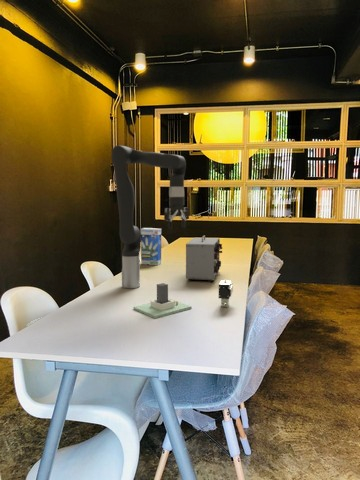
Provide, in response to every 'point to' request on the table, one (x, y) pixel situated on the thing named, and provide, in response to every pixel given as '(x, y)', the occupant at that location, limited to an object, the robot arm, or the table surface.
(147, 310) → the board
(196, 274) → the vintage electronic device
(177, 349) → the table surface
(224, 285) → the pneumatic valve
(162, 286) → the grey rectangular block
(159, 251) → the string lights box
